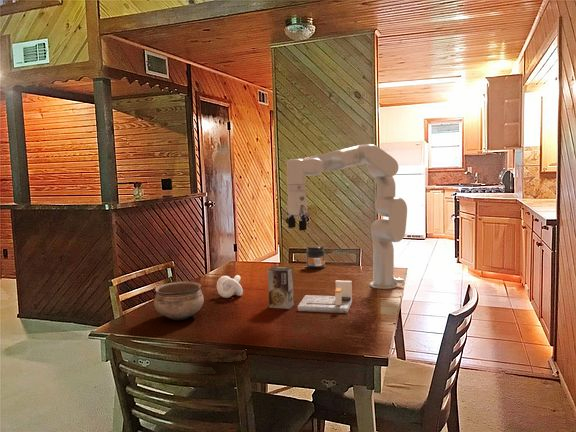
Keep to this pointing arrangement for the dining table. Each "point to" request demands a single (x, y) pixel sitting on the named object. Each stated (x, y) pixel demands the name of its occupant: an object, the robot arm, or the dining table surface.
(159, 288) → the cooking pot
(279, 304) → the coffee box
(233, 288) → the white rounded piece
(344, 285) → the dial
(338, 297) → the fader tab
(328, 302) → the console
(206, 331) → the dining table surface
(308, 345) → the dining table surface
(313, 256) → the supplement container
